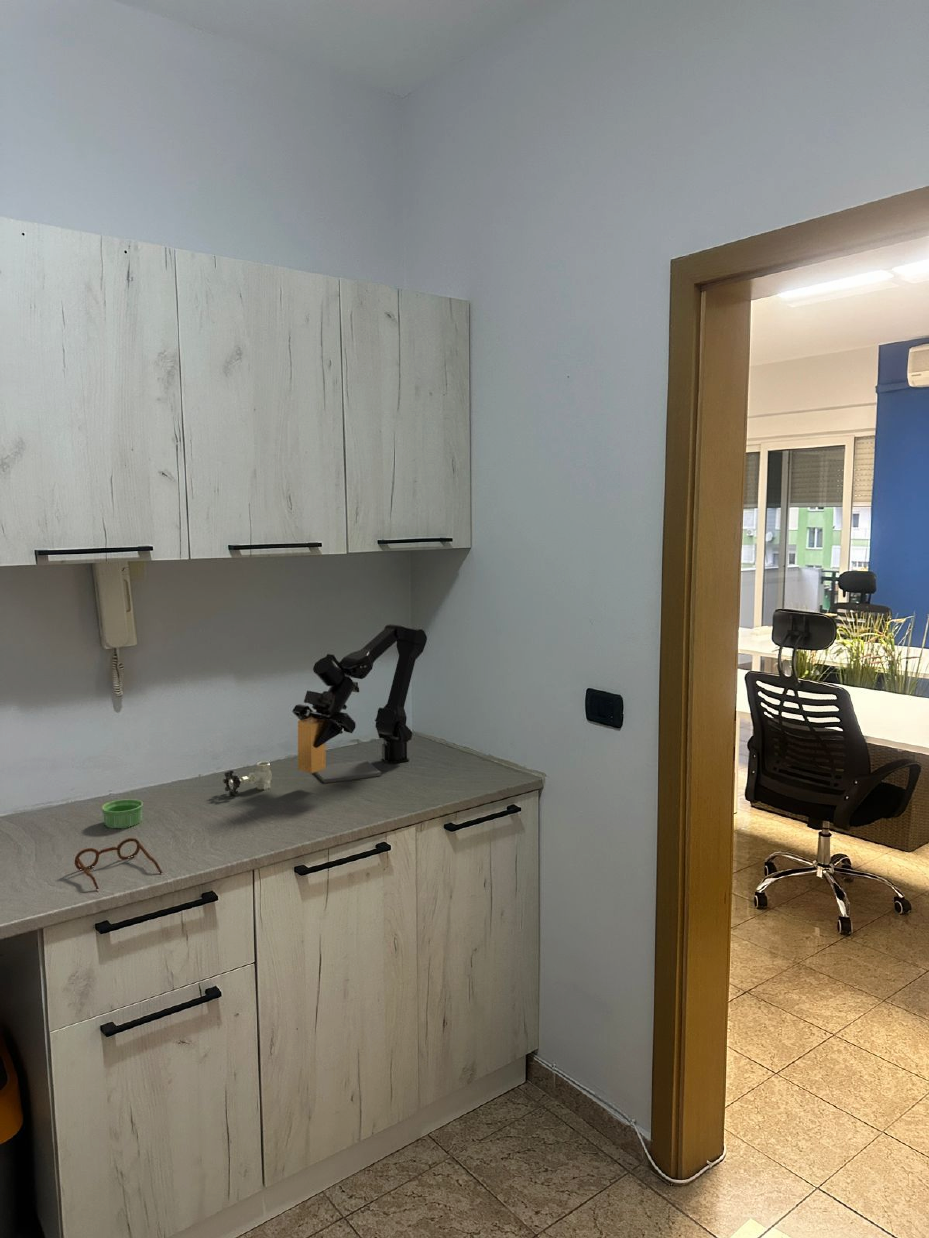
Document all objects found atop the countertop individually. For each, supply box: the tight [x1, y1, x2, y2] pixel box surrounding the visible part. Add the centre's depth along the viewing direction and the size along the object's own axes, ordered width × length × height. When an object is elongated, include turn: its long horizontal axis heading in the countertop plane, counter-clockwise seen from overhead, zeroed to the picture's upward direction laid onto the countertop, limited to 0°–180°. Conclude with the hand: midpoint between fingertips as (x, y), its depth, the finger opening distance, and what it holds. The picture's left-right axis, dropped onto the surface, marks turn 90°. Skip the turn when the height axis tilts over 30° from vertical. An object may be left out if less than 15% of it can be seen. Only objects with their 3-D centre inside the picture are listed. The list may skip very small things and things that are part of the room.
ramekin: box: [101, 798, 144, 829], centre depth 207 cm, size 9×9×4 cm
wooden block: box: [297, 717, 327, 774], centre depth 232 cm, size 5×5×13 cm
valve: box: [222, 761, 273, 797], centre depth 231 cm, size 7×7×12 cm
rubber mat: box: [313, 759, 382, 784], centre depth 247 cm, size 16×13×1 cm
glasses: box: [74, 837, 164, 890], centre depth 179 cm, size 13×13×5 cm
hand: (307, 745), depth 231 cm, fingers closed on wooden block, 5 cm apart
